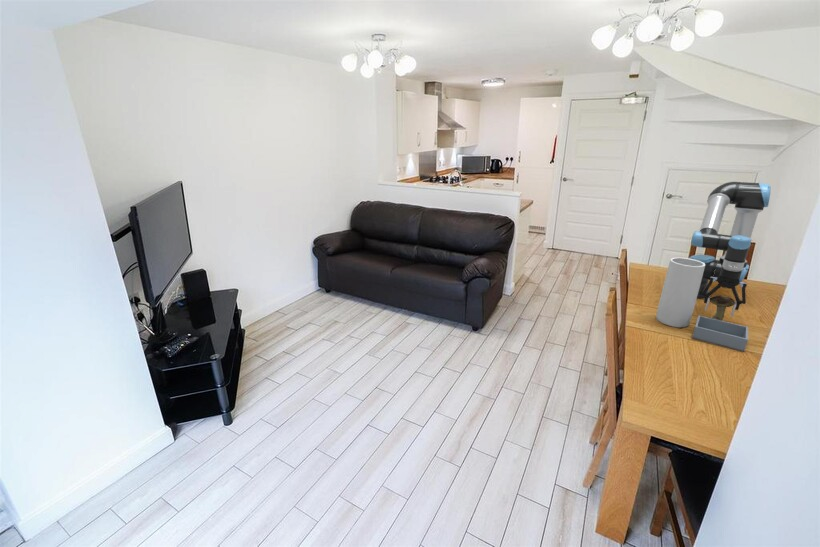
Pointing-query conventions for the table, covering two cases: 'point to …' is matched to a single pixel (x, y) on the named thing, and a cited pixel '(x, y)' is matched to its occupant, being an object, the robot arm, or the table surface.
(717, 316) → the mushroom
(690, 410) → the table surface
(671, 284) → the vase
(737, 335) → the bin
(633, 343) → the table surface
